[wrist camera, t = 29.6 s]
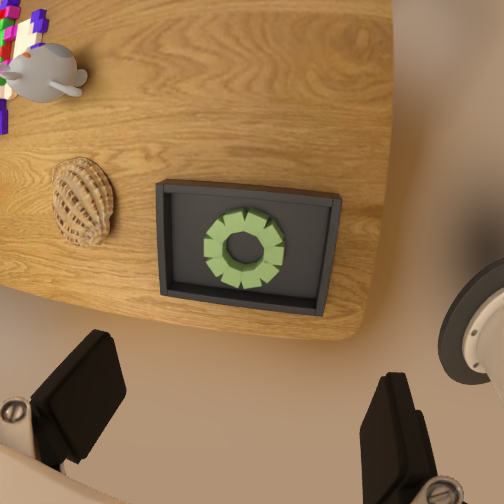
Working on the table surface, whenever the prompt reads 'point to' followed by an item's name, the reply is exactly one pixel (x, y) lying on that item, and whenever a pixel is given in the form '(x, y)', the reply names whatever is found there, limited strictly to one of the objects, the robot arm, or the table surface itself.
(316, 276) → the tray
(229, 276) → the ring
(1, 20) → the building block set
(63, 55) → the toy figure
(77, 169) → the seashell
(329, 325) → the table surface
